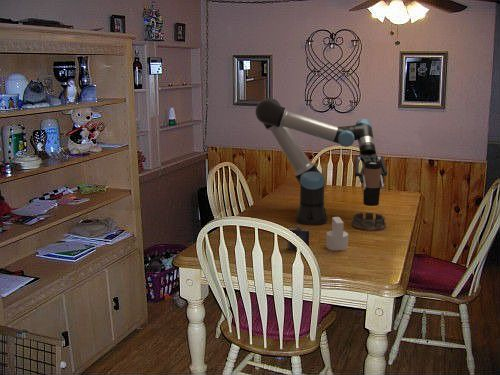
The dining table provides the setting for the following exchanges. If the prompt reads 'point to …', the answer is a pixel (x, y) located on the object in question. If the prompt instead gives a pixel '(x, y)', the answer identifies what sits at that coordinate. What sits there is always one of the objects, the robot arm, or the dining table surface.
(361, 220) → the ring collar holder
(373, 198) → the travel mug
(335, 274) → the dining table surface
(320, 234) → the dining table surface
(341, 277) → the dining table surface
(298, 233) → the flask
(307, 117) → the robot arm
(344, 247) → the base with upright slab
